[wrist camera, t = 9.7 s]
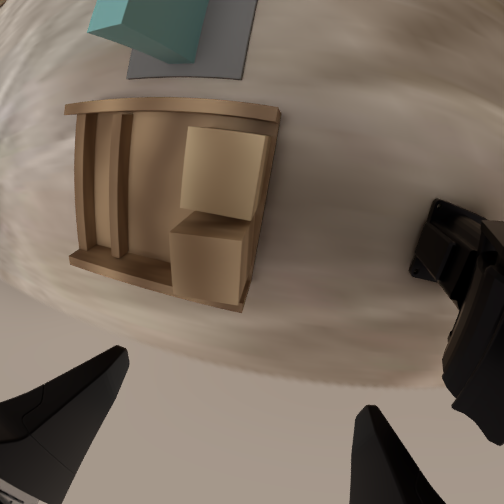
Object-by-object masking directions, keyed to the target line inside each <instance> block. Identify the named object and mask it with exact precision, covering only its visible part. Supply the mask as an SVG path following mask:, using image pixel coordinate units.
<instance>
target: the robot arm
mask: <svg viewBox="0 0 504 504" xmlns="http://www.w3.org/2000/svg"><path fill="white" fill-rule="evenodd" d="M439 203H440V207H439V208H437V205H438V204H439ZM415 269H417V271H416V272H414V270H415ZM409 272H410V274H411V275H412V276H413V277H415V278H420V279H424V280H429V281H433V282H438V283H439V284H440V286H441V287H442V288H443V290H444V291H445V292H446V294H447V295H448V296H449V298H450V299H451V300H452V301H453V303H454V304H455V305H456V307H457V308H458V310H459V314H458V316H457V319H456V322H455V324H454V327H453V329H452V331H451V332H450V333H449V336H448V344H447V347H446V349H445V352H444V355H443V358H442V363H443V372H444V373H443V375H442V379H443V381H444V383H445V385H446V387H447V388H448V390H449V391H450V392H451V393H452V395H453V396H454V397H455V398H456V400H455V401H454V403H453V404H452V408H453V409H454V410H457V411H459V412H462V413H464V414H465V415H467V416H468V417H469V418H471V419H472V420H473V421H474V422H475V423H476V424H477V425H478V426H479V428H480V429H481V430H482V432H483V433H484V435H485V436H486V438H487V439H488V440H489V441H490V442H493V443H495V444H496V445H499V446H501V445H503V444H504V222H503V221H490V220H487V219H486V218H484V217H481V216H479V215H477V214H475V213H473V212H470V211H468V210H466V209H463V208H461V207H459V206H456V205H454V204H451V203H449V202H446V201H444V200H441V199H435V200H434V202H433V204H432V207H431V211H430V214H429V217H428V220H427V223H426V224H425V225H424V228H423V231H422V234H421V237H420V240H419V243H418V245H417V248H416V251H415V256H414V259H413V261H412V264H411V266H410V269H409ZM128 368H129V357H128V352H127V349H126V348H124V347H121V346H119V345H116V346H114V347H112V348H110V349H108V350H107V351H105V352H103V353H101V354H99V355H97V356H96V357H94V358H92V359H90V360H88V361H86V362H84V363H83V364H81V365H79V366H77V367H75V368H73V369H71V370H70V371H68V372H66V373H64V374H62V375H60V376H58V377H56V378H54V379H53V380H51V381H49V382H47V383H45V385H44V384H43V385H41V386H39V387H37V388H35V389H33V390H31V391H29V392H27V393H24V394H22V395H19V396H17V397H15V398H12V399H9V400H6V401H3V402H0V504H37V503H38V501H39V500H41V501H43V502H46V503H48V504H62V502H63V500H64V498H65V496H66V493H67V491H68V489H69V487H70V485H71V483H72V481H73V479H74V477H75V474H76V473H77V471H78V469H79V467H80V465H81V462H82V461H83V459H84V456H85V455H86V453H87V451H88V449H89V447H90V445H91V443H92V441H93V439H94V437H95V436H96V434H97V432H98V430H99V428H100V426H101V425H102V422H103V421H104V419H105V417H106V415H107V414H108V412H109V410H110V408H111V406H112V405H113V403H114V401H115V399H116V397H117V394H118V392H119V389H120V387H121V385H122V382H123V380H124V377H125V375H126V373H127V370H128ZM350 486H351V487H350V503H349V504H446V503H445V502H444V501H443V500H442V498H441V497H440V496H439V495H438V494H437V493H436V491H435V490H434V489H433V487H432V486H431V485H430V484H429V482H428V481H427V479H426V478H425V476H424V475H423V473H422V472H421V471H420V469H419V467H418V466H417V464H416V463H415V461H414V460H413V458H412V457H411V455H410V454H409V452H408V451H407V449H406V448H405V446H404V445H403V443H402V442H401V440H400V439H399V438H398V436H397V434H396V433H395V432H394V430H393V429H392V427H391V426H390V424H389V423H388V421H387V420H386V418H385V417H384V415H383V414H382V413H381V411H380V409H379V408H378V407H377V406H376V405H366V406H365V407H364V408H363V409H362V410H361V411H360V413H359V414H358V415H357V416H356V419H355V427H354V436H353V445H352V454H351V485H350Z"/></svg>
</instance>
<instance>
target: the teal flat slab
mask: <svg viewBox="0 0 504 504" xmlns="http://www.w3.org/2000/svg"><path fill="white" fill-rule="evenodd" d="M208 2H209V0H97V3H96V6H95V8H94V11H93V14H92V18H91V21H90V24H89V28H88V31H87V33H90V34H93V35H96V36H99V37H102V38H105V39H108V40H111V41H114V42H117V43H120V44H122V45H125V46H128V47H130V48H133V49H135V50H138V51H140V52H143V53H145V54H147V55H150V56H152V57H154V58H157V59H159V60H161V61H163V62H165V63H168V64H182V63H194V62H195V57H196V52H197V47H198V43H199V38H200V34H201V29H202V25H203V21H204V17H205V13H206V9H207V6H208Z"/></svg>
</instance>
